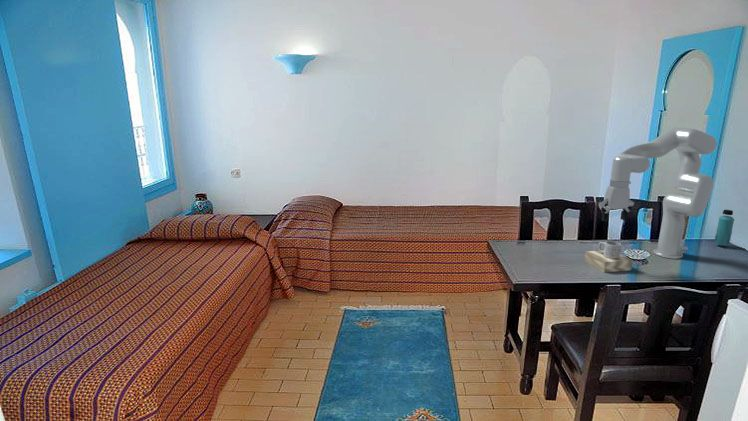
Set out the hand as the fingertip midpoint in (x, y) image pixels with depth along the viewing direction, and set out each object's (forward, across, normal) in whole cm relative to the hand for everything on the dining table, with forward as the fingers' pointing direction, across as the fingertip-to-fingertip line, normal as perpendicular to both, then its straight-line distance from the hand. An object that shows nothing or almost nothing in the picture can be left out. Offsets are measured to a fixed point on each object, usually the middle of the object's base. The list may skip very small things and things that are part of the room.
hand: (613, 220), depth 199 cm
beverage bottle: (+23, -78, -14) cm, 82 cm away
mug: (+17, +1, 0) cm, 17 cm away
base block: (+22, 0, 0) cm, 22 cm away
